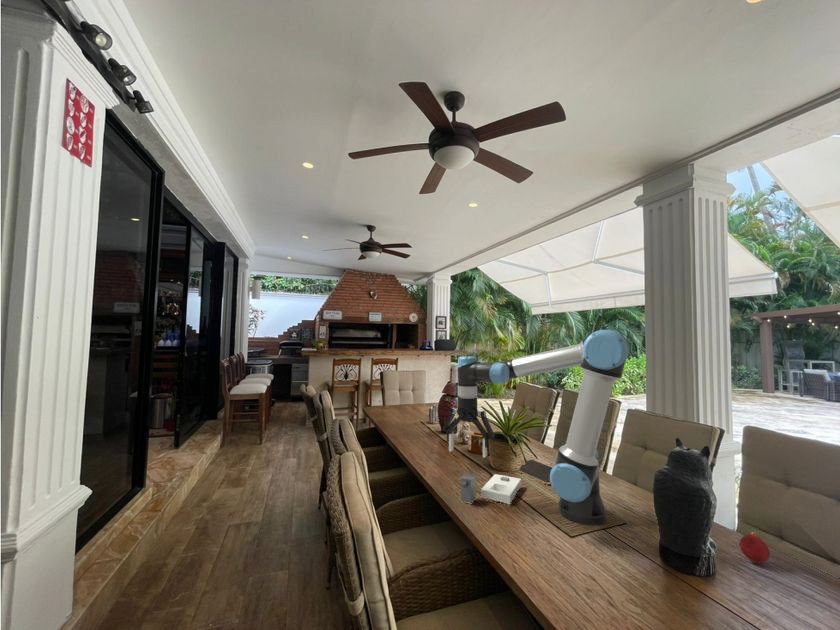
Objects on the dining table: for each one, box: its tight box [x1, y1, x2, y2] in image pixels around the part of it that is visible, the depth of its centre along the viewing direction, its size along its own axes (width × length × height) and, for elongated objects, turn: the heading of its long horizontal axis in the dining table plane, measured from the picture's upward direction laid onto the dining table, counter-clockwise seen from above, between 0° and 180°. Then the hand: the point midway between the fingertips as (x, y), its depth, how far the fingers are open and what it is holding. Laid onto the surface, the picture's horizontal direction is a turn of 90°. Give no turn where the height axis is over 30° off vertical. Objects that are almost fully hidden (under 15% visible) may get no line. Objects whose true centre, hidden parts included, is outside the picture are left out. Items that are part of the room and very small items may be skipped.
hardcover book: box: [519, 459, 553, 483], centre depth 158 cm, size 16×23×2 cm
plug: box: [460, 473, 477, 503], centre depth 130 cm, size 4×7×9 cm, turn 151°
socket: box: [480, 473, 522, 504], centre depth 137 cm, size 11×18×4 cm, turn 151°
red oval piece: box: [739, 531, 771, 565], centre depth 94 cm, size 6×6×8 cm
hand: (467, 453), depth 131 cm, fingers open, 13 cm apart
